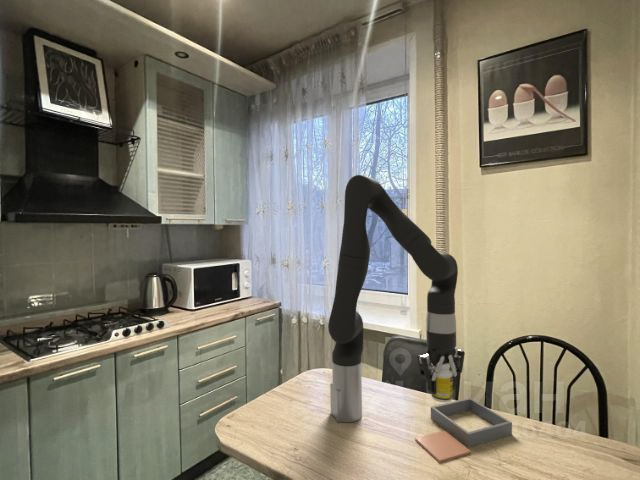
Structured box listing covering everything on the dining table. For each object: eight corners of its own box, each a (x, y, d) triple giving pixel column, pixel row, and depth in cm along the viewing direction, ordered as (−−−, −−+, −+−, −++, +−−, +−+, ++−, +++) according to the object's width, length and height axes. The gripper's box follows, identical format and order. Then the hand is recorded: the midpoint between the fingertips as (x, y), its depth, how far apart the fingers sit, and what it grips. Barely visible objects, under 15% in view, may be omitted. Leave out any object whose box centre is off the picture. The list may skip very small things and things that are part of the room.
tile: (439, 462, 86) (439, 460, 86) (415, 440, 95) (415, 438, 95) (471, 453, 89) (471, 451, 89) (444, 432, 99) (444, 430, 99)
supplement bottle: (454, 403, 89) (454, 366, 89) (432, 402, 90) (432, 365, 90) (450, 394, 94) (450, 358, 94) (430, 392, 95) (429, 357, 95)
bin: (468, 447, 92) (468, 434, 92) (430, 417, 106) (430, 406, 106) (511, 434, 97) (511, 422, 97) (470, 408, 112) (470, 397, 112)
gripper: (452, 322, 98) (453, 381, 98) (409, 327, 93) (410, 389, 93) (472, 329, 91) (473, 392, 91) (427, 335, 86) (428, 402, 86)
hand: (441, 390), depth 92 cm, fingers closed on supplement bottle, 5 cm apart
